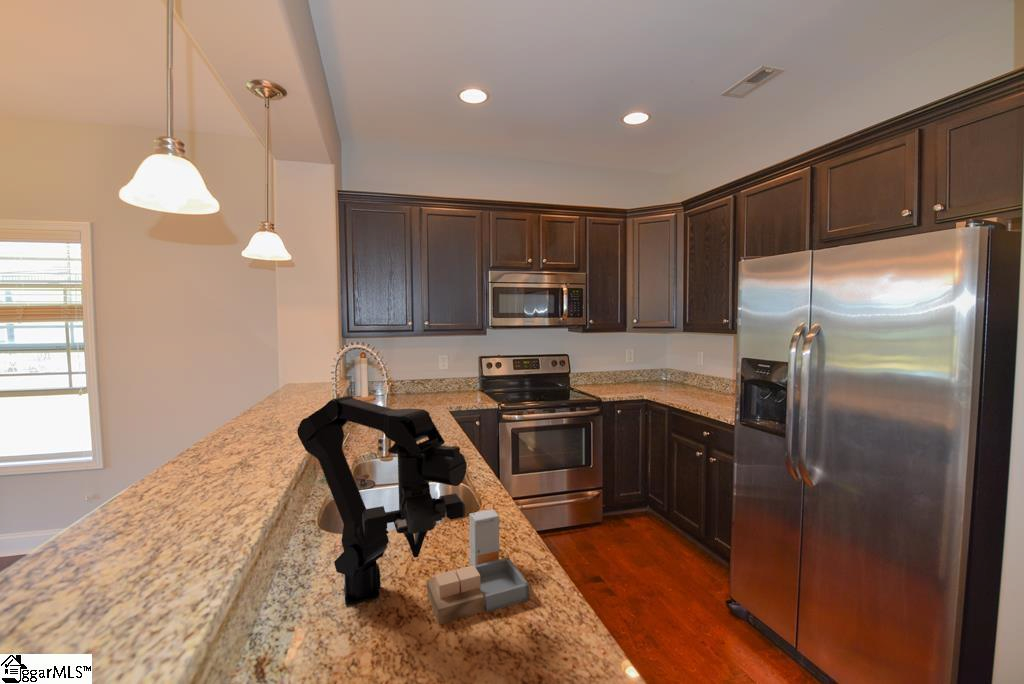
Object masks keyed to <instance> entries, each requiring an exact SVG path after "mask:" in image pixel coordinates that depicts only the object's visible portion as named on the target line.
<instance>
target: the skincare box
mask: <svg viewBox="0 0 1024 684" xmlns="http://www.w3.org/2000/svg"><path fill="white" fill-rule="evenodd" d="M468 515H469V564H470V566H472V565H474V566H475V565H479V564H483V563H487V562H491V561H495V560H499V559H500V515H499V514H498V513H497V511H495V510H494V508H492V509H488V510H480V511H476V512H471V513H469V514H468Z"/></svg>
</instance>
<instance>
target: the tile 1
mask: <svg viewBox="0 0 1024 684" xmlns="http://www.w3.org/2000/svg"><path fill="white" fill-rule="evenodd" d="M434 578H435V588H436V591H437V593H438V596H439V598H443V597H447V596H451V595H454V594H458V593H460V582H459V579H458V577H457V575H456V573H455V570H454V569H453V570H448V571H445V572H441V573H437V574H436V573H435V574H434Z"/></svg>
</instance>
